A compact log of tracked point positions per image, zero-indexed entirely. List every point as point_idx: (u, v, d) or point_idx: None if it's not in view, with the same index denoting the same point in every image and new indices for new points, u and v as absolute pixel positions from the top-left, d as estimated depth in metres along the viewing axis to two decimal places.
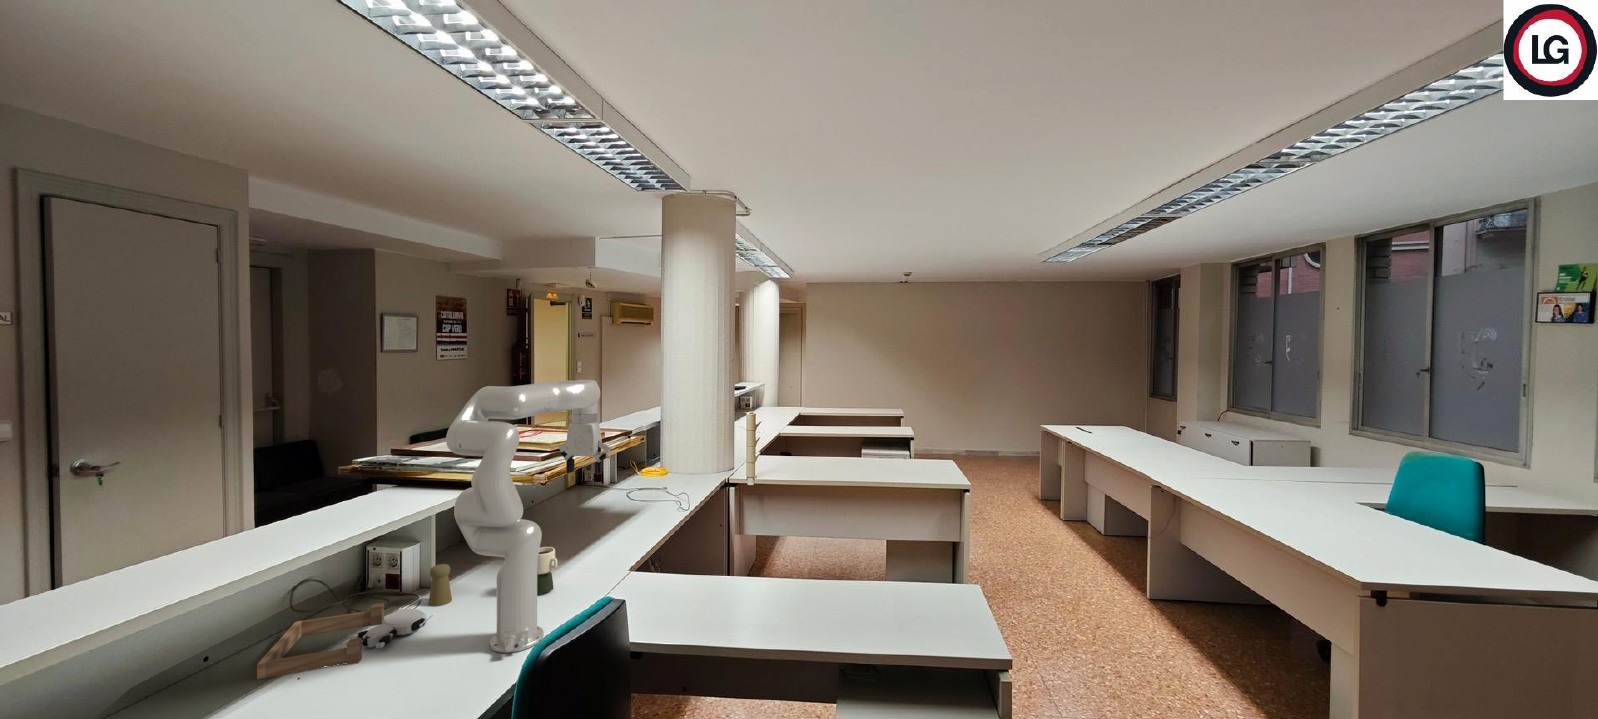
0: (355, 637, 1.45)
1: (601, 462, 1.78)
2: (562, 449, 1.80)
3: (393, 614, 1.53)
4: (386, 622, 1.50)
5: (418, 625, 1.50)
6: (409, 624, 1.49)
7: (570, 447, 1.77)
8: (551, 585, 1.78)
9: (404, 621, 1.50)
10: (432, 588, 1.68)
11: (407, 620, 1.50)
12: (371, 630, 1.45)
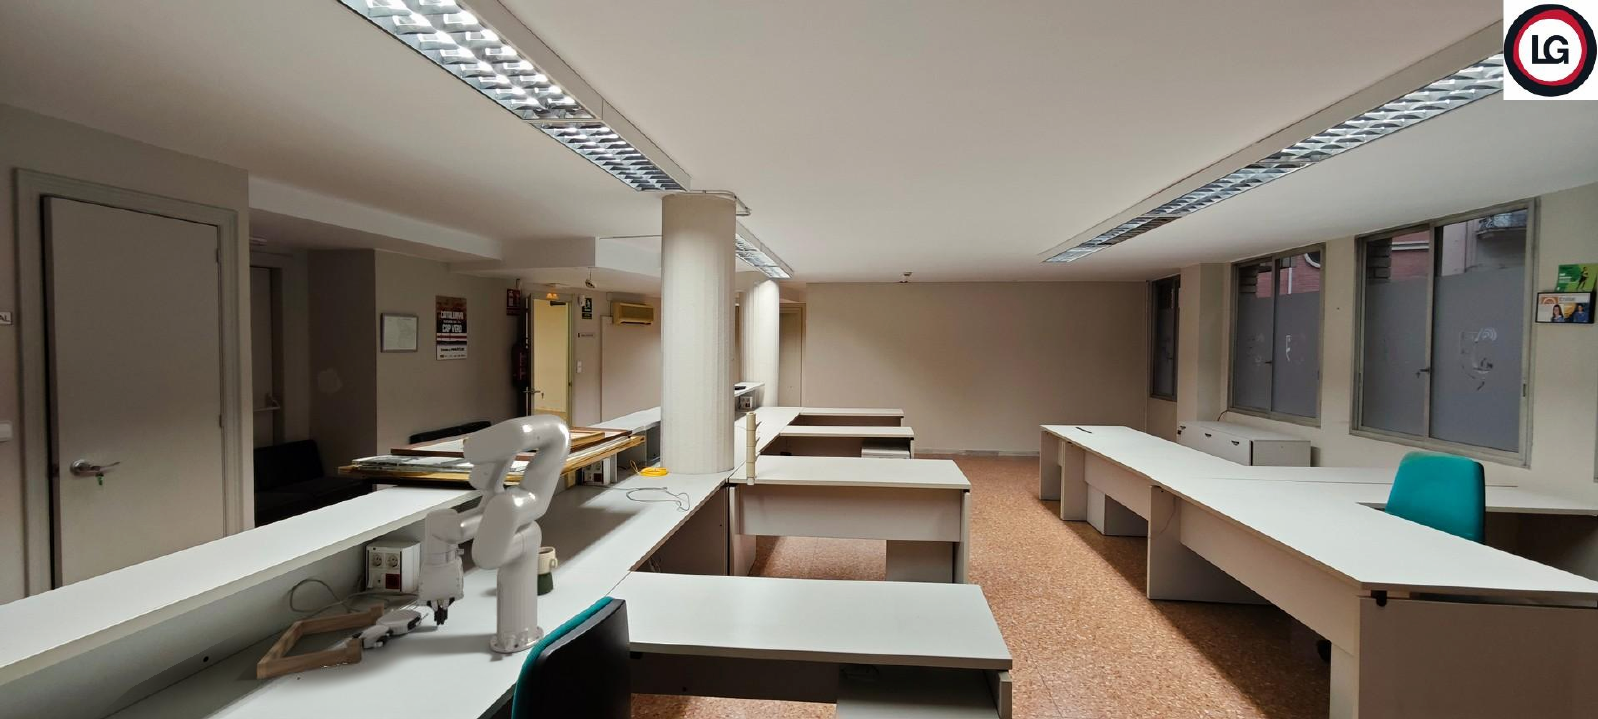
0: (350, 639, 1.44)
1: None
2: None
3: (386, 615, 1.53)
4: (380, 623, 1.49)
5: (414, 624, 1.50)
6: (405, 623, 1.49)
7: None
8: (551, 585, 1.78)
9: (400, 621, 1.50)
10: None
11: (402, 620, 1.50)
12: (366, 631, 1.45)
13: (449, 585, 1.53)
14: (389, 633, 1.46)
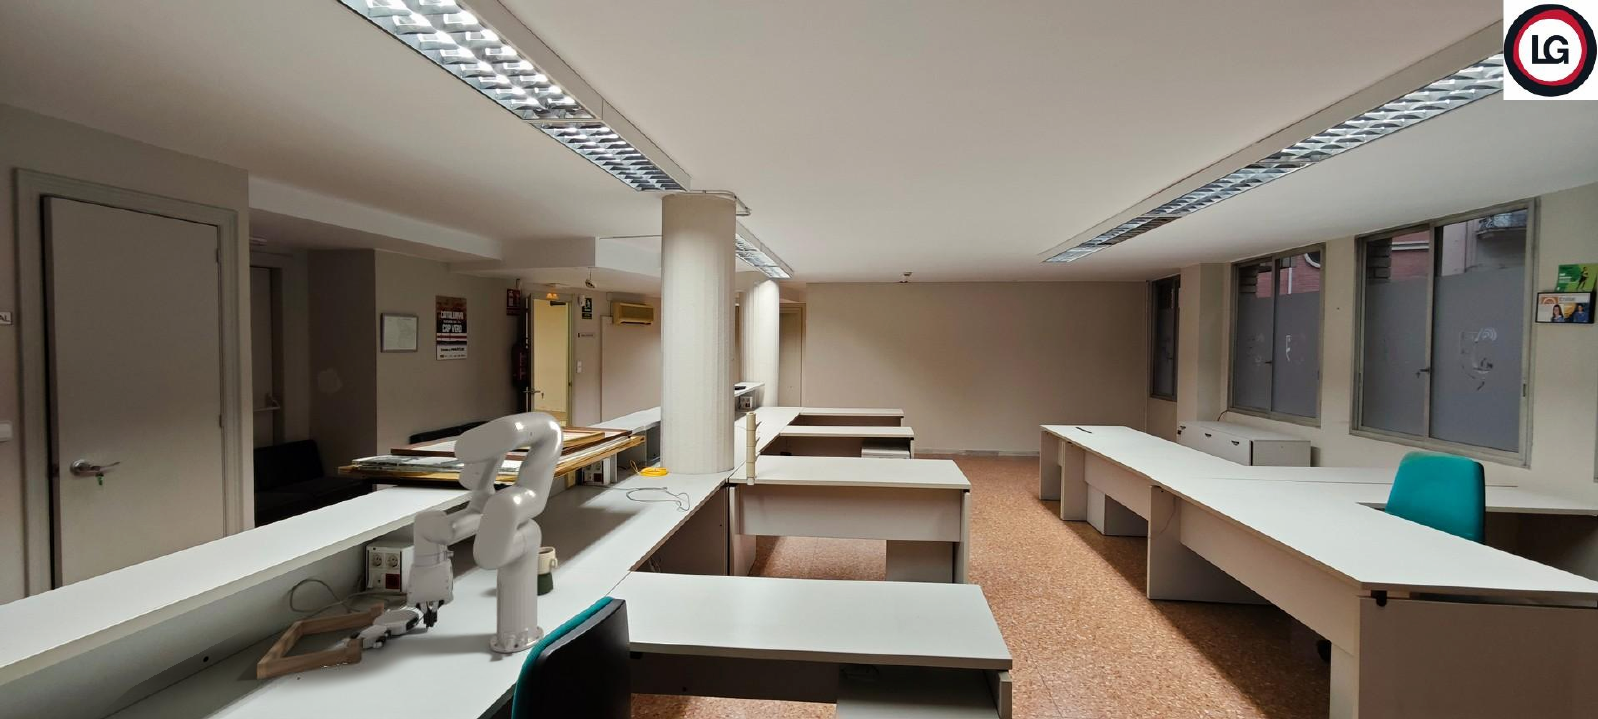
0: (348, 639, 1.43)
1: None
2: None
3: (383, 615, 1.53)
4: (378, 623, 1.49)
5: (412, 624, 1.50)
6: (403, 624, 1.49)
7: None
8: (551, 585, 1.78)
9: (398, 621, 1.50)
10: None
11: (400, 620, 1.50)
12: (365, 631, 1.45)
13: (438, 587, 1.52)
14: (388, 633, 1.46)
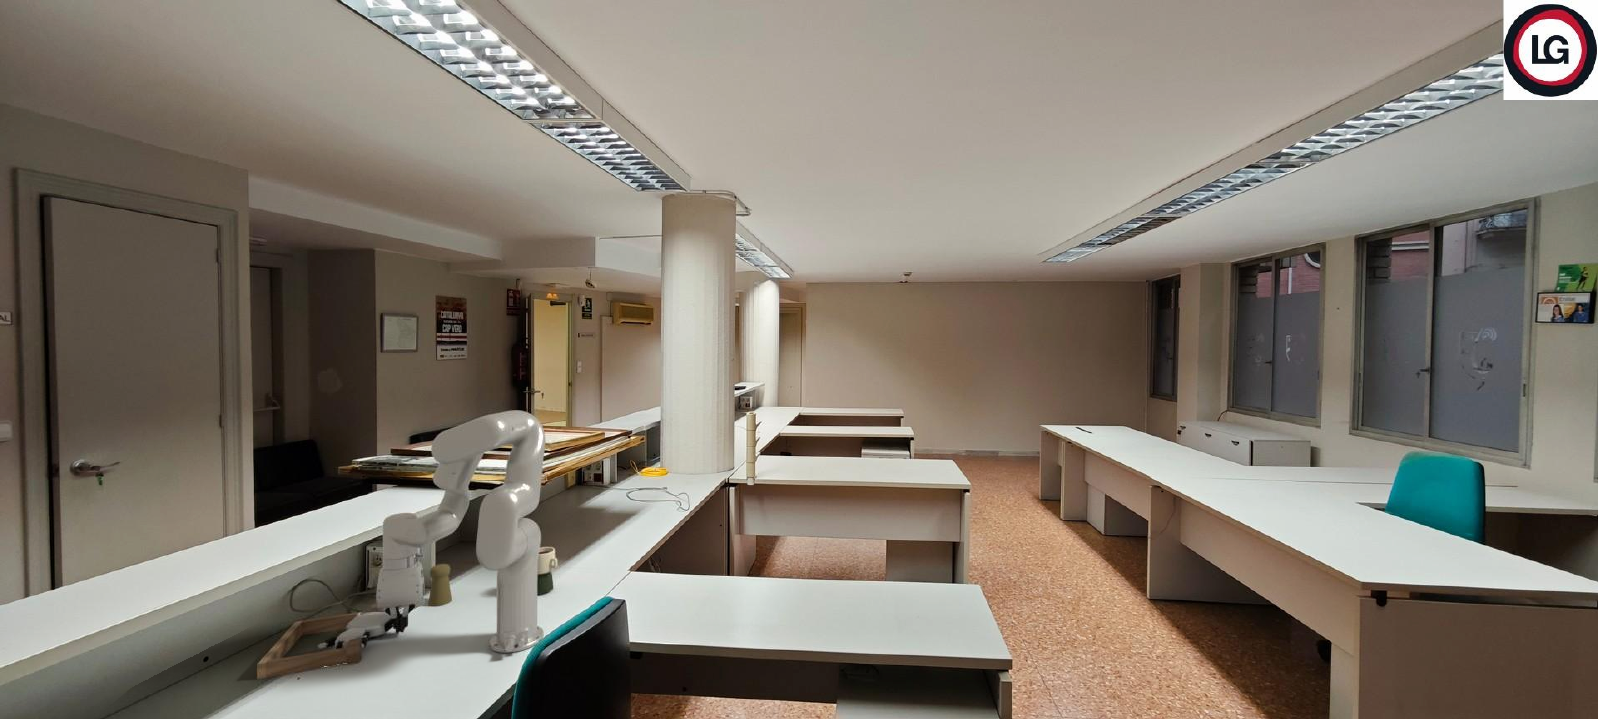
0: (324, 644, 1.41)
1: None
2: None
3: (356, 619, 1.50)
4: (353, 627, 1.47)
5: (391, 625, 1.50)
6: (382, 625, 1.48)
7: None
8: (551, 585, 1.78)
9: (375, 623, 1.49)
10: (432, 588, 1.68)
11: (378, 621, 1.49)
12: (342, 635, 1.43)
13: (408, 591, 1.49)
14: (367, 635, 1.45)
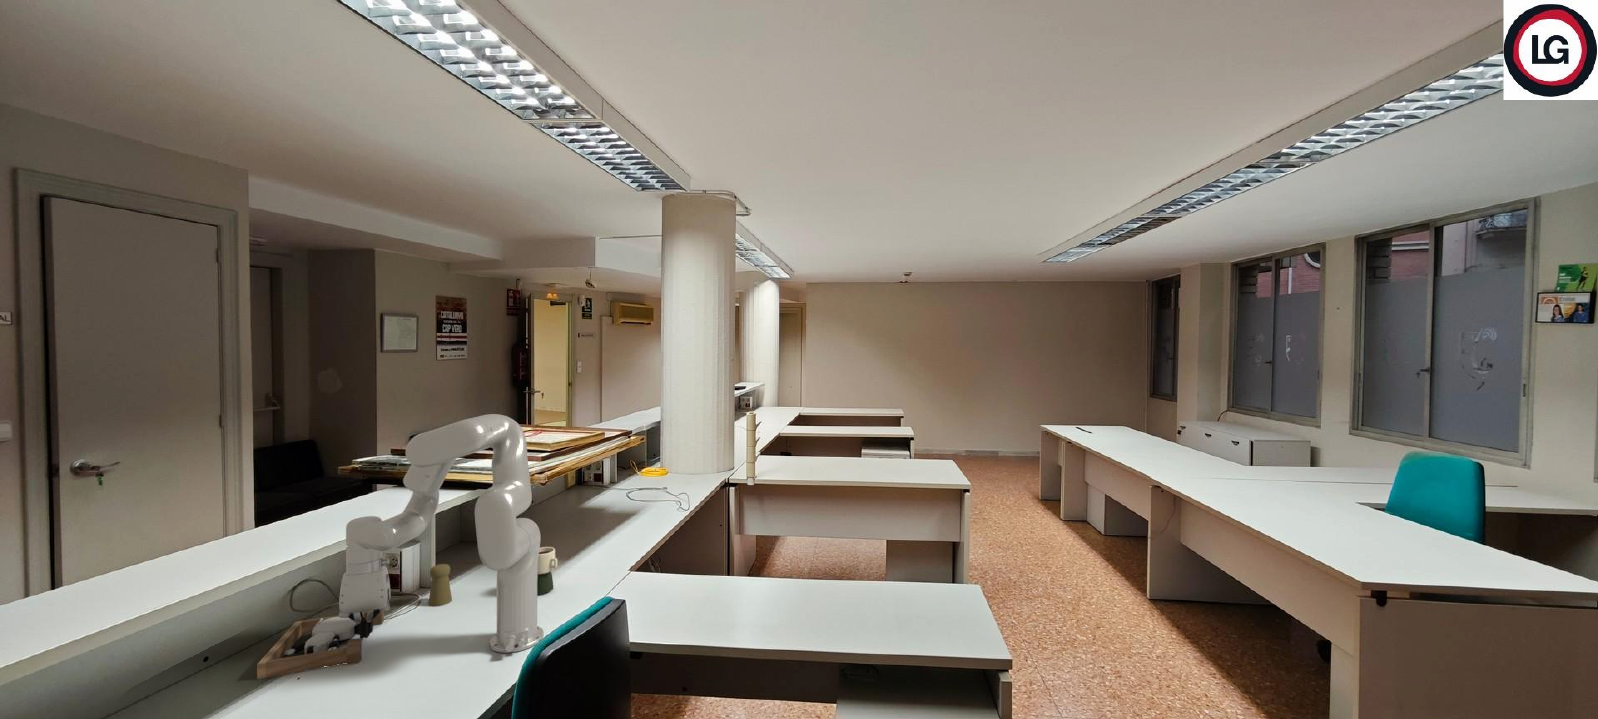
0: (292, 650, 1.38)
1: None
2: None
3: (321, 624, 1.47)
4: (320, 631, 1.44)
5: None
6: (352, 628, 1.47)
7: None
8: (551, 585, 1.78)
9: (344, 626, 1.47)
10: (432, 588, 1.68)
11: (346, 625, 1.47)
12: (311, 639, 1.40)
13: (372, 596, 1.46)
14: (337, 638, 1.43)
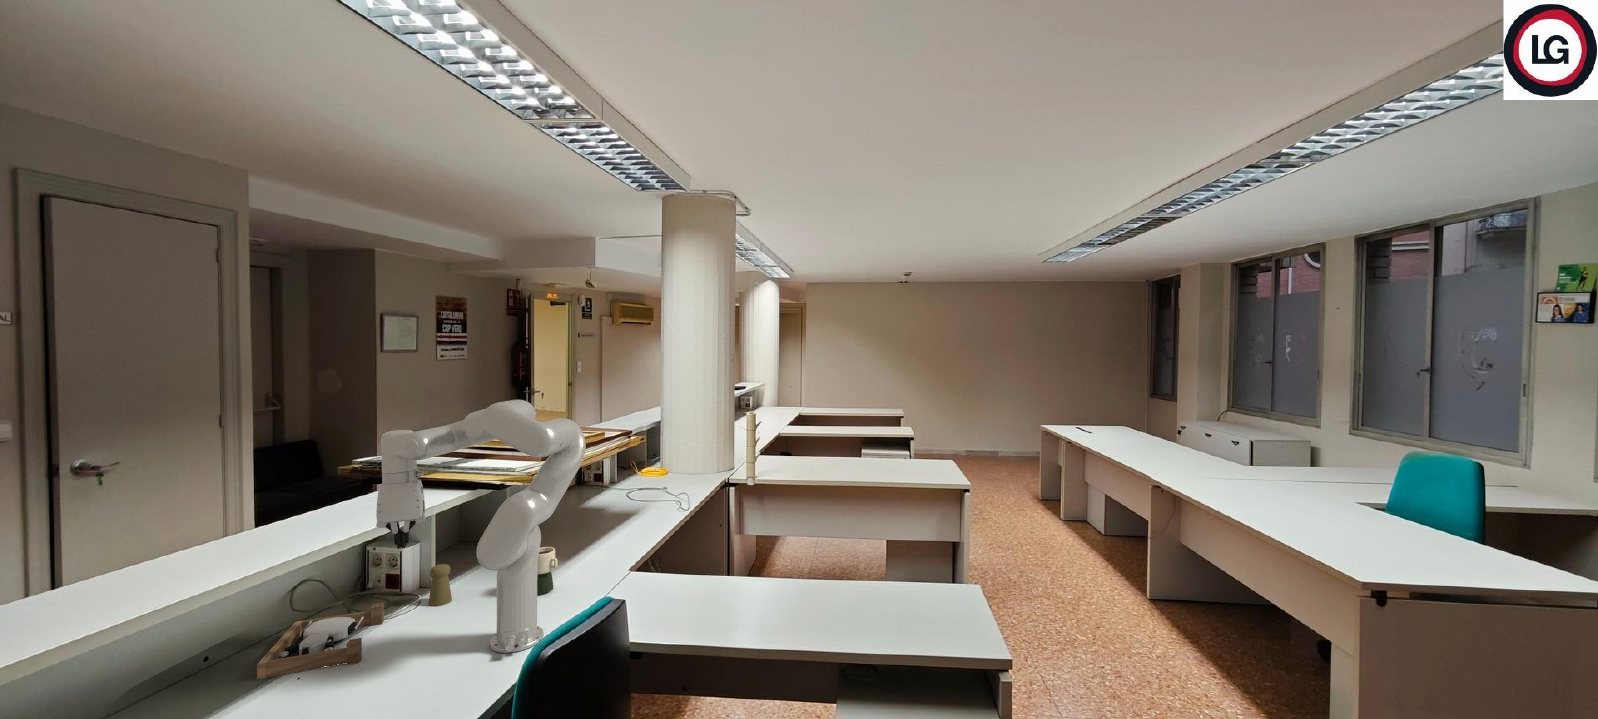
0: (285, 652, 1.37)
1: None
2: None
3: (312, 626, 1.47)
4: (313, 633, 1.44)
5: (354, 628, 1.48)
6: (345, 628, 1.47)
7: None
8: (551, 585, 1.78)
9: (336, 627, 1.46)
10: (432, 588, 1.68)
11: (339, 626, 1.47)
12: (306, 641, 1.40)
13: (409, 507, 1.48)
14: (331, 639, 1.43)
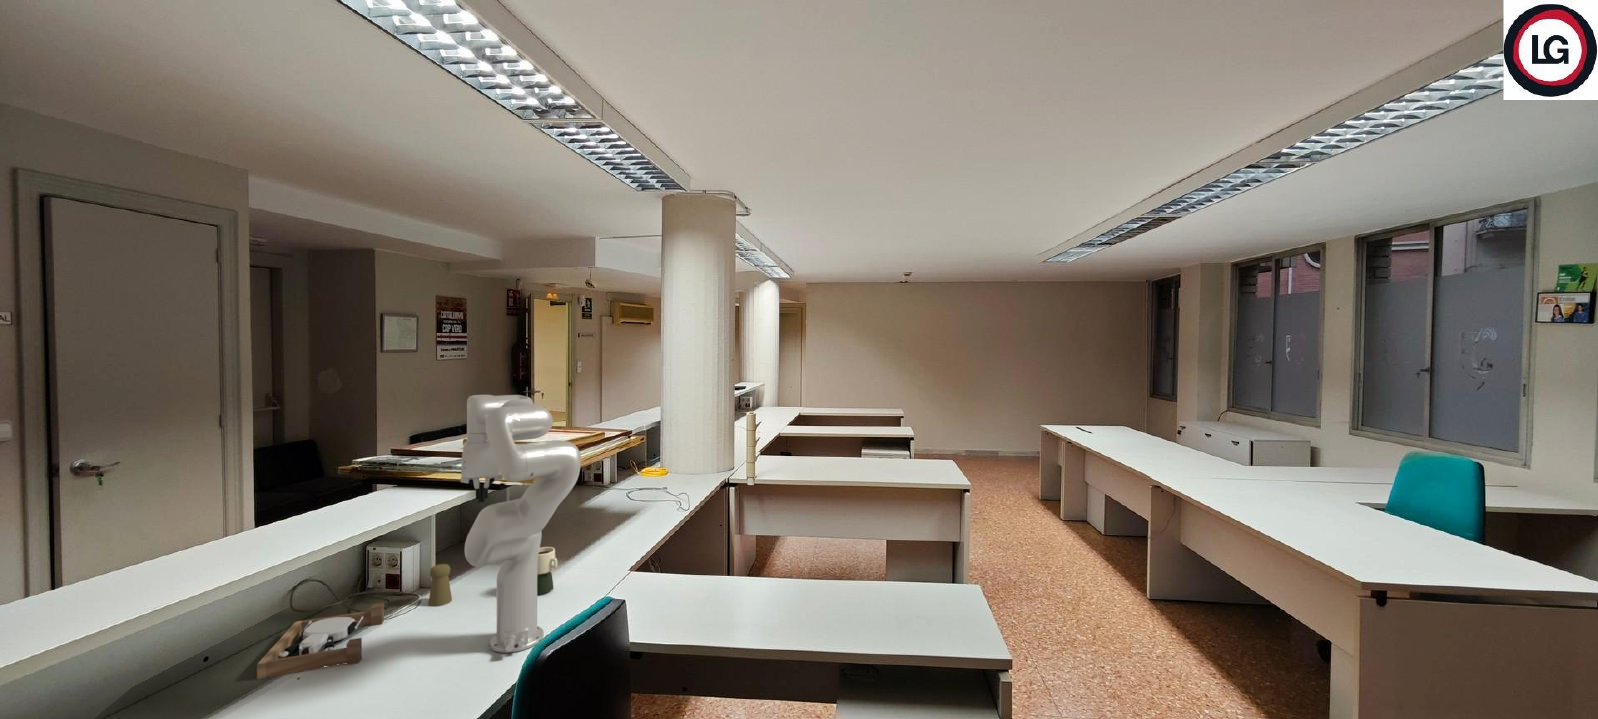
0: (285, 652, 1.37)
1: (476, 489, 1.63)
2: None
3: (312, 626, 1.47)
4: (313, 633, 1.44)
5: (353, 628, 1.48)
6: (345, 628, 1.47)
7: None
8: (551, 585, 1.78)
9: (336, 627, 1.46)
10: (432, 588, 1.68)
11: (339, 626, 1.47)
12: (305, 641, 1.40)
13: (490, 464, 1.62)
14: (331, 639, 1.43)
